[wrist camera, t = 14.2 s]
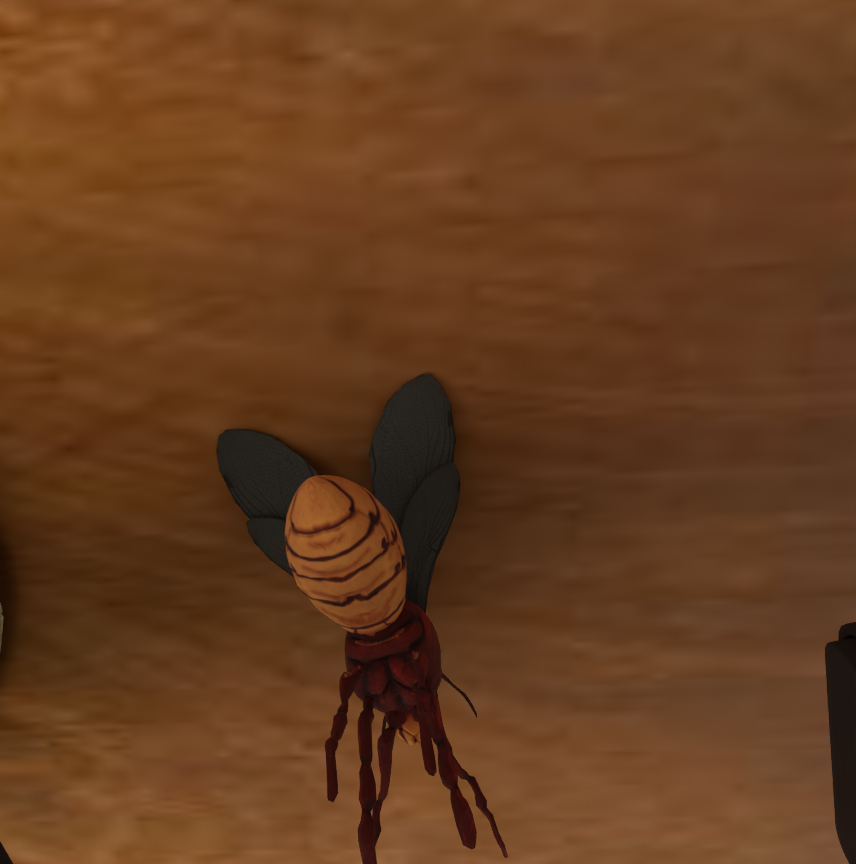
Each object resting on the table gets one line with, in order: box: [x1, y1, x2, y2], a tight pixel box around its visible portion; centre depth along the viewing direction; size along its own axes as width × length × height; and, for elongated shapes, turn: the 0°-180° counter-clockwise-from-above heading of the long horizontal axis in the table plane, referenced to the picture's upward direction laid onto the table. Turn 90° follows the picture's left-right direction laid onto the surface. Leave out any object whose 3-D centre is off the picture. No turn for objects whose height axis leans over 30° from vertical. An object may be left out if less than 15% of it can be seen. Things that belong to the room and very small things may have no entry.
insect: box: [217, 374, 508, 864], centre depth 12 cm, size 4×6×5 cm, turn 16°
